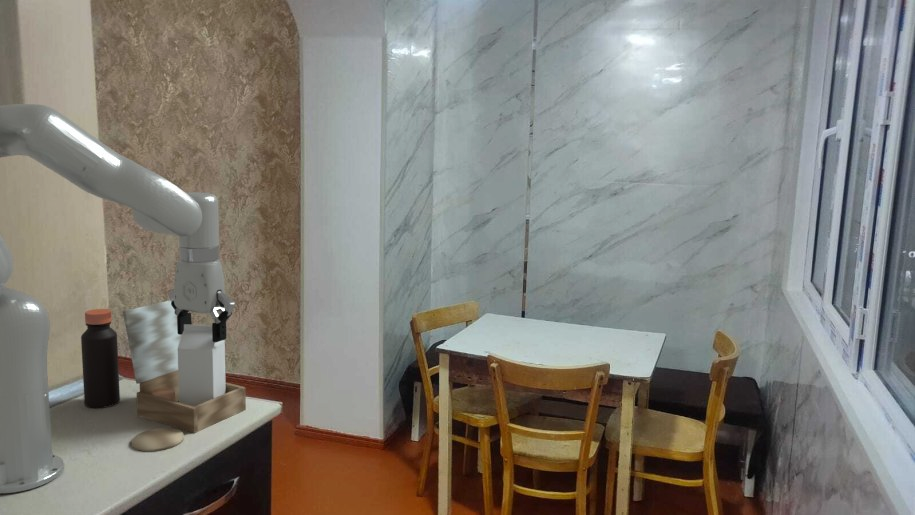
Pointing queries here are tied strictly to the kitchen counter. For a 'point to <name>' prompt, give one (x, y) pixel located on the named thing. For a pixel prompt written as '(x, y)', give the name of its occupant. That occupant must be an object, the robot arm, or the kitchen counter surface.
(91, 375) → the bottle
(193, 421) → the box
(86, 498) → the kitchen counter surface
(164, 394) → the tan rounded ovoid
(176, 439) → the coaster
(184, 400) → the milk carton
